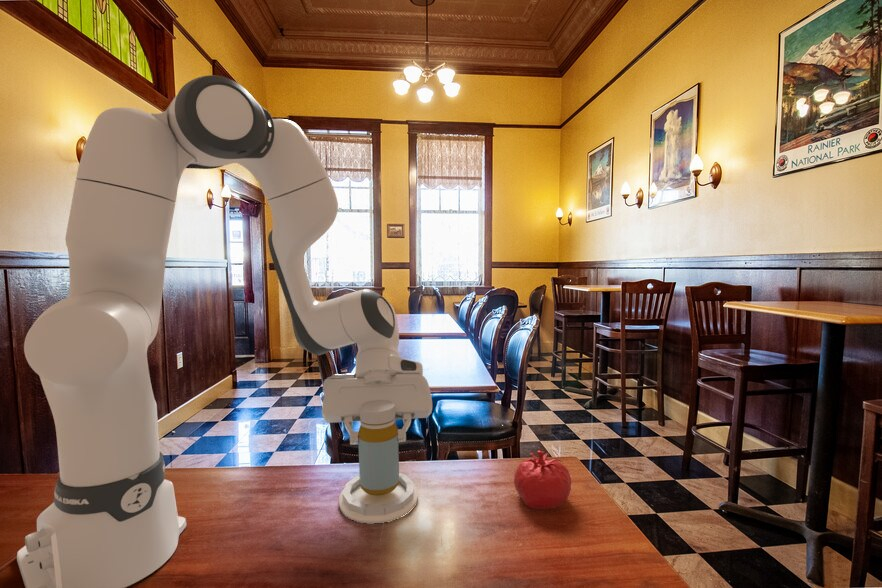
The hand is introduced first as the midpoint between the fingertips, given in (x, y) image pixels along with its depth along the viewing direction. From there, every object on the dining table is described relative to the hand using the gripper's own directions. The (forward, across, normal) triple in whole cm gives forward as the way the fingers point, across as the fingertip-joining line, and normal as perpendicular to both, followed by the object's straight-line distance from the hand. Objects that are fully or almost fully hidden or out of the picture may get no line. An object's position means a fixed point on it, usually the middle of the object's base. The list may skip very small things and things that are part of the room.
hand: (378, 442), depth 74 cm
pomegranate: (+10, +29, +6) cm, 32 cm away
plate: (+7, 0, +8) cm, 11 cm away
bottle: (+6, 0, +7) cm, 9 cm away
